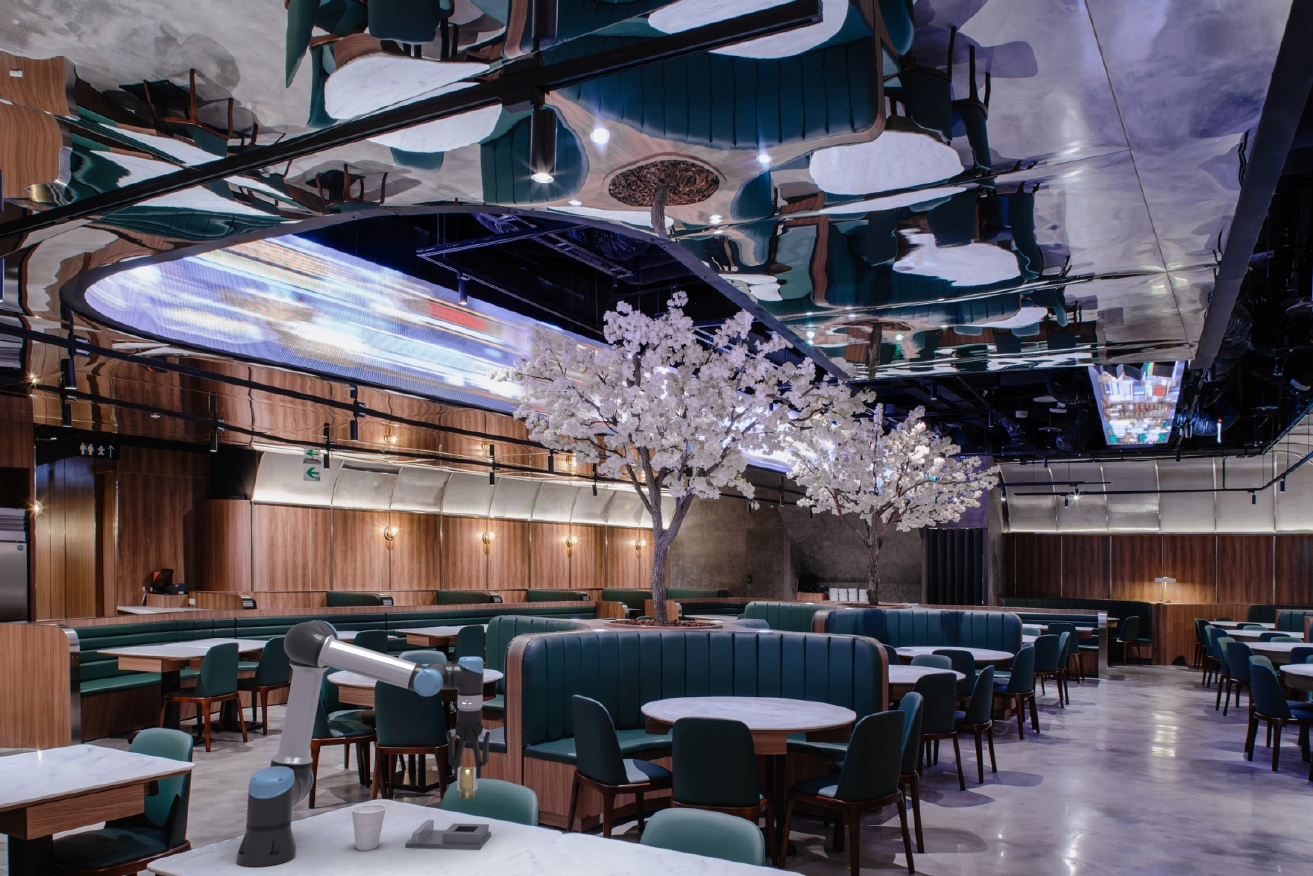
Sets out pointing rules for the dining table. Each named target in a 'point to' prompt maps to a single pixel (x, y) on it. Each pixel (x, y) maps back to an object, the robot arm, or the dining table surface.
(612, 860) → the dining table surface
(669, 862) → the dining table surface
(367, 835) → the cup
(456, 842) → the jig
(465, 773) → the cylinder
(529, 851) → the dining table surface
